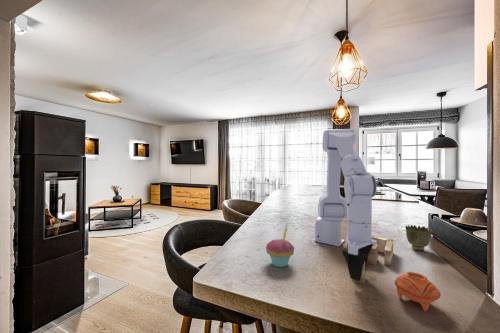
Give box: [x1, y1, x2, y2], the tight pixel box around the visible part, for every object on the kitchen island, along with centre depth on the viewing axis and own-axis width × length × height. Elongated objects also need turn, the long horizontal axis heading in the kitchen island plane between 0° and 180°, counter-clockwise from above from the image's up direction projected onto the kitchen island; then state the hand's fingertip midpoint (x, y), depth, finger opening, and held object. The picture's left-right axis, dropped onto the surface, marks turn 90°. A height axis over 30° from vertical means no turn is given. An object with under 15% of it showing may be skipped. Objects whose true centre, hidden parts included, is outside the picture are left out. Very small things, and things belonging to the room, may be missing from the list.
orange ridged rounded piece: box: [394, 271, 441, 313], centre depth 47 cm, size 8×8×7 cm
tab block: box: [351, 244, 379, 285], centre depth 62 cm, size 5×19×6 cm, turn 143°
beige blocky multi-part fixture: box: [346, 235, 394, 267], centre depth 73 cm, size 12×12×4 cm
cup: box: [405, 224, 433, 252], centre depth 77 cm, size 8×7×8 cm
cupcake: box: [265, 224, 295, 268], centre depth 65 cm, size 9×8×12 cm
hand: (358, 273), depth 56 cm, fingers open, 7 cm apart
